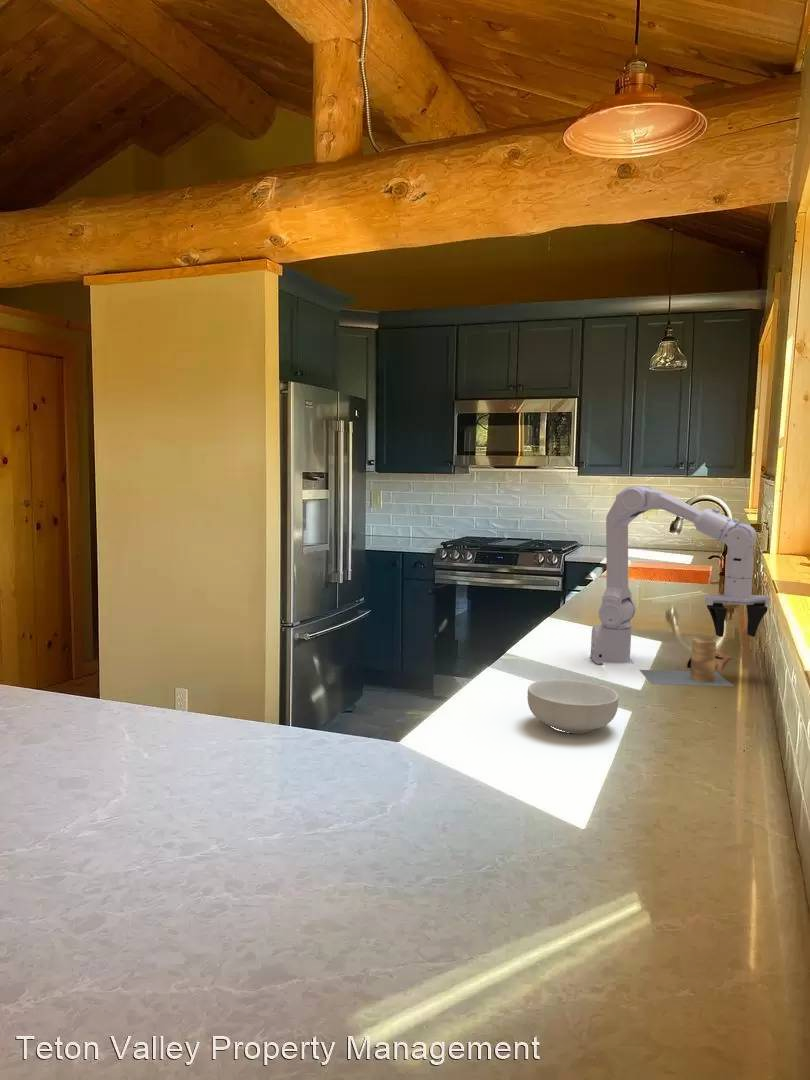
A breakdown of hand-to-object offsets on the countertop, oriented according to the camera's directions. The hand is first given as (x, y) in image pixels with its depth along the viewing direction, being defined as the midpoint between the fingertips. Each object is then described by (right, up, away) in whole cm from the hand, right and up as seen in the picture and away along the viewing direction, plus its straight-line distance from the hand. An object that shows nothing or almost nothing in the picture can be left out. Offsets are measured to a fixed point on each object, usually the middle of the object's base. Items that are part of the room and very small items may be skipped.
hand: (735, 635), depth 183 cm
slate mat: (-11, -10, 0) cm, 15 cm away
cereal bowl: (-44, -13, -33) cm, 57 cm away
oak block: (-8, -10, -1) cm, 13 cm away
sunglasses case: (0, -10, +16) cm, 18 cm away
